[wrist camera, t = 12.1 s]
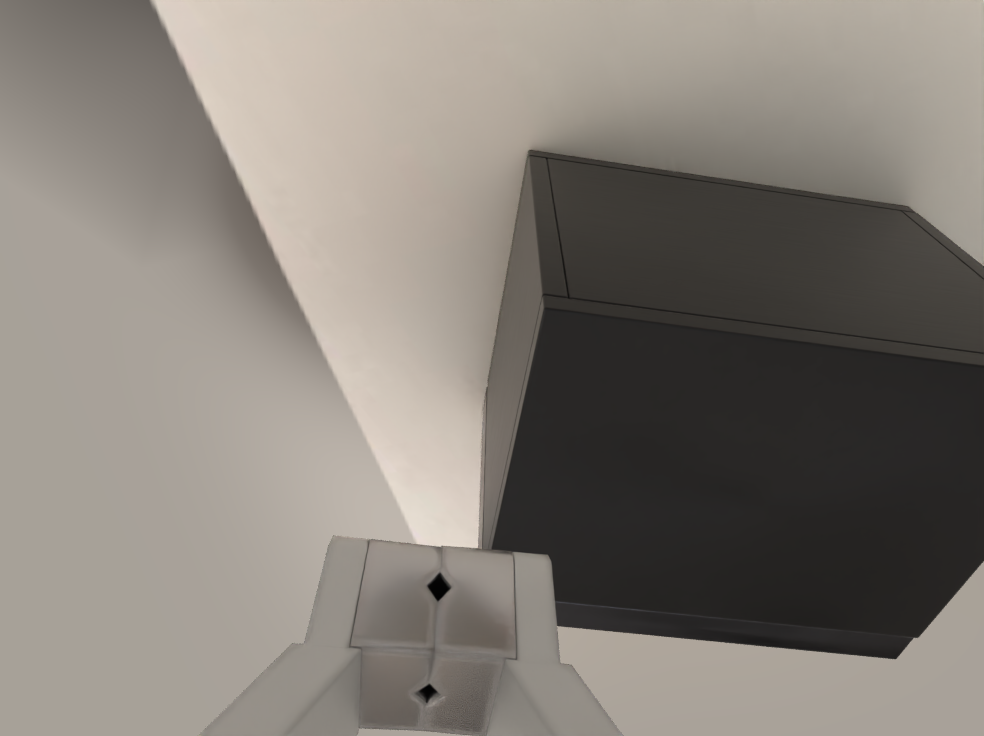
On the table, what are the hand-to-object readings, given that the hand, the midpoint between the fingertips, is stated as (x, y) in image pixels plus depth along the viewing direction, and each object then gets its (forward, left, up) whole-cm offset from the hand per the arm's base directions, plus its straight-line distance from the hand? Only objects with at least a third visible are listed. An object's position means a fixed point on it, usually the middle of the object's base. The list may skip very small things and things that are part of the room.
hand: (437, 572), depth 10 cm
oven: (-14, +1, -25) cm, 28 cm away
